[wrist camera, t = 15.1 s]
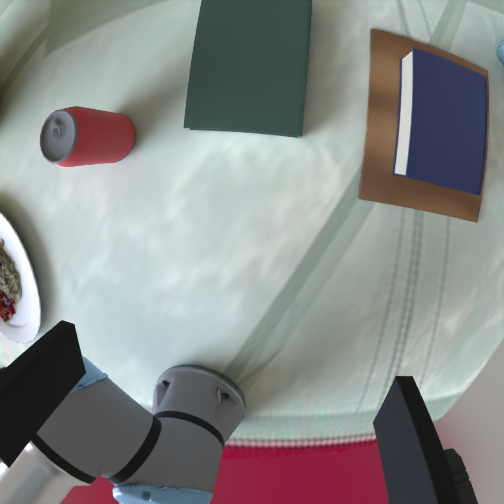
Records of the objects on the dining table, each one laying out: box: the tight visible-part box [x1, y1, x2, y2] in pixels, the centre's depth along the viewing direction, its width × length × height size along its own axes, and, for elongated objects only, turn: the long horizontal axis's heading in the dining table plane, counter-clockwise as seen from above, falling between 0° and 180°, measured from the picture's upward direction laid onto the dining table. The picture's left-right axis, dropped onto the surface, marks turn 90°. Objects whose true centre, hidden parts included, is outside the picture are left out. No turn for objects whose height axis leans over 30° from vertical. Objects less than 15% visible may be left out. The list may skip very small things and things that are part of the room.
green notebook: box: [184, 0, 312, 138], centre depth 29 cm, size 18×13×2 cm
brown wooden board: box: [358, 28, 489, 223], centre depth 29 cm, size 22×18×1 cm
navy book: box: [393, 47, 487, 196], centre depth 27 cm, size 15×10×4 cm
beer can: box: [40, 106, 135, 167], centre depth 29 cm, size 7×7×12 cm
